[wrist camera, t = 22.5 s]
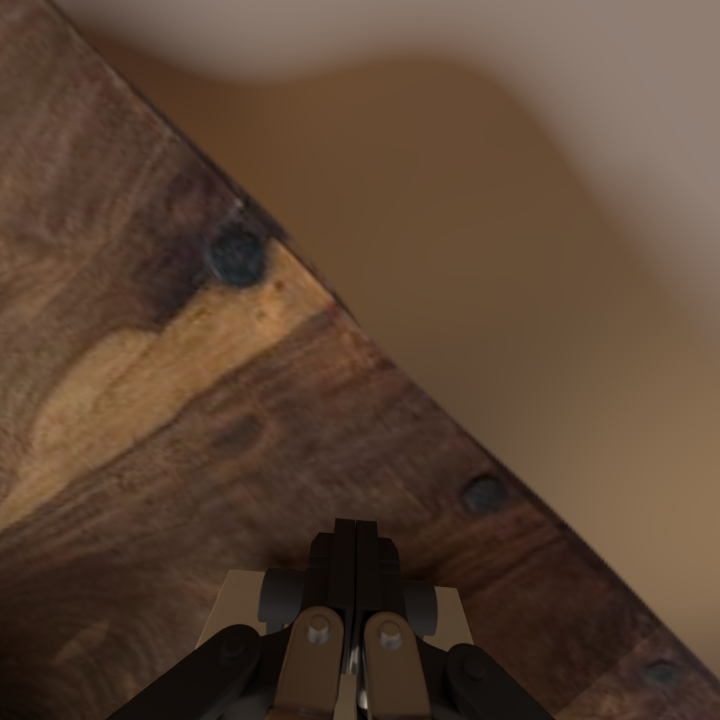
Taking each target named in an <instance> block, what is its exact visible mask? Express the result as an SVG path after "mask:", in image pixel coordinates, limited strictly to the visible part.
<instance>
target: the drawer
mask: <svg viewBox="0 0 720 720" xmlns="http://www.w3.org/2000/svg"><path fill="white" fill-rule="evenodd" d="M306 572H307V571H300V570H289V569H277V568H268V569H267V570H266V572H260V571H248V570H236V569H230V570H229V571H228V574H227V576H226V578H225V581H224V583H223V585H222V587H221V590H220V592H219V594H218V597H217V599H216V601H215V604H214V606H213V608H212V611H211V613H210V615H209V617H208V620H207V622H206V624H205V627H204V629H203V631H202V634H201V636H200V638H199V640H198V643H197V645H196V647H195V649H197V648H198V647H199V646H201V645H202V644H203V643H204V642H206V641H207V640H208V639H210V638H211V637H212V636H213V635H215V634H216V633H217V632H219V631H220V630H222V629H223V628H225V627H228V626H230V625H235V624H245V625H248V626H251V627H253V628H254V629H255V630H256V631H257V632H258V633H259V635H260V636H264V635H268V634H272V633H275V632H278V631H281V630H283V629H284V628H286V627H288V626H289V625H290V624H291V623H292V622H293V621H294V620H295V618H296V617H297V615H298V613H299V610H300V606H301V601H302V595H303V589H304V583H305V578H306ZM402 585H403V592H404V599H405V606H406V614H407V619H408V622H409V624H410V626H411V627H412V629H413V631H414V632H415V633H416V634H417V636H418V637H420V638H421V639H422V640H423V641H425V642H426V643H428V644H430V645H432V646H435V647H437V648H439V649H442V650H444V651H446V652H448V651H449V649H450V648H451V647H452V646H454V645H456V644H459V643H468V644H472V645H474V643H473V640H472V637H471V634H470V630H469V627H468V624H467V620H466V617H465V614H464V611H463V607H462V604H461V601H460V598H459V594H458V591H457V588H449V587H437V586H434V585H433V583H432V582H430V581H418V580H406V579H402ZM348 660H349V653H348ZM355 696H356V675H351V674H348V661H347V669H346V674H341V680H340V688H339V697H338V700H337V703H336V705H335V710H334V719H333V720H355V718H354V703H355Z"/></svg>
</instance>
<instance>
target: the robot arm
mask: <svg viewBox="0 0 720 720" xmlns="http://www.w3.org/2000/svg"><path fill="white" fill-rule="evenodd" d="M348 653H349V660H348ZM347 661H348V674H351V675H356V696H355V703H354V718H355V720H555V719H554V718H553V717H552V716H551V715H550V714H549V713H548V712H547V711H546V710H545V709H544V708H543V707H542V706H541V705H540V704H539V703H538V702H536V701H535V700H534V699H533V698H532V697H531V696H530V695H529V694H528V693H527V692H526V691H525V690H524V689H523V688H522V687H521V686H520V685H519V684H518V683H517V682H516V681H515V680H514V679H513V678H512V677H511V676H510V675H509V674H508V673H507V672H506V671H505V670H504V669H503V668H502V667H501V666H500V665H499V664H498V663H497V662H496V661H494V660H493V659H492V658H491V657H490V656H489V655H488V654H487V653H486V652H485V651H484V650H482V649H481V648H479V647H477V646H475V645H472V644H468V643H459V644H456V645H454V646H452V647H451V648H450V649H449V651H448V652H446V651H444V650H442V649H439V648H437V647H435V646H432V645H430V644H428V643H426V642H425V641H423V640H422V639H421V638H420V637H418V636H417V634H416V633H415V632H414V631H413V629H412V627H411V626H410V624H409V622H408V619H407V614H406V606H405V599H404V592H403V585H402V577H401V570H400V565H399V556H398V550H397V548H396V546H395V545H394V543H393V542H392V540H391V539H390V538H380V537H378V532H377V522H374V521H363V520H357V521H356V528H355V520H351V519H340V518H336V519H335V529H334V534H333V533H322V532H319V533H318V535H317V536H316V537H315V539H314V540H313V541H312V543H311V549H310V555H309V560H308V567H307V572H306V578H305V583H304V589H303V595H302V601H301V606H300V610H299V613H298V615H297V617H296V618H295V620H294V621H293V622H292V623H291V624H290V625H289V626H288V627H286V628H284V629H283V630H281V631H278V632H275V633H272V634H268V635H264V636H260V635H259V633H258V632H257V631H256V630H255V629H254V628H253V627H251V626H248V625H245V624H235V625H230V626H228V627H225V628H223V629H222V630H220V631H219V632H217V633H216V634H215V635H213V636H212V637H211V638H210V639H208V640H207V641H206V642H204V643H203V644H202V645H201V646H199V647H198V648H197V649H195V650H194V651H193V652H192V653H190V654H189V655H188V656H186V657H185V658H184V659H183V660H181V661H180V662H179V663H177V664H176V665H175V666H174V667H172V668H171V669H170V670H168V671H167V672H166V673H165V674H163V675H162V676H161V677H159V678H158V679H157V680H156V681H154V682H153V683H152V684H150V685H149V686H148V687H147V688H145V689H144V690H143V691H141V692H140V693H139V694H138V695H136V696H135V697H134V698H132V699H131V700H130V701H129V702H127V703H126V704H125V705H123V706H122V707H121V708H120V709H118V710H117V711H116V712H114V713H113V714H112V715H111V716H109V717H108V718H107V719H105V720H333V719H334V710H335V705H336V703H337V700H338V697H339V688H340V680H341V674H346V669H347Z"/></svg>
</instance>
